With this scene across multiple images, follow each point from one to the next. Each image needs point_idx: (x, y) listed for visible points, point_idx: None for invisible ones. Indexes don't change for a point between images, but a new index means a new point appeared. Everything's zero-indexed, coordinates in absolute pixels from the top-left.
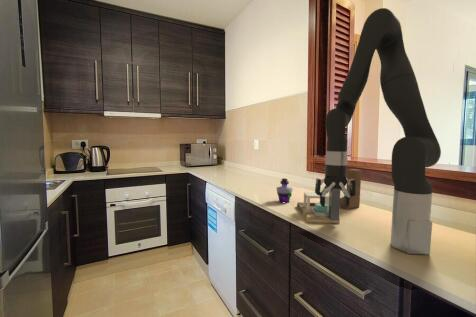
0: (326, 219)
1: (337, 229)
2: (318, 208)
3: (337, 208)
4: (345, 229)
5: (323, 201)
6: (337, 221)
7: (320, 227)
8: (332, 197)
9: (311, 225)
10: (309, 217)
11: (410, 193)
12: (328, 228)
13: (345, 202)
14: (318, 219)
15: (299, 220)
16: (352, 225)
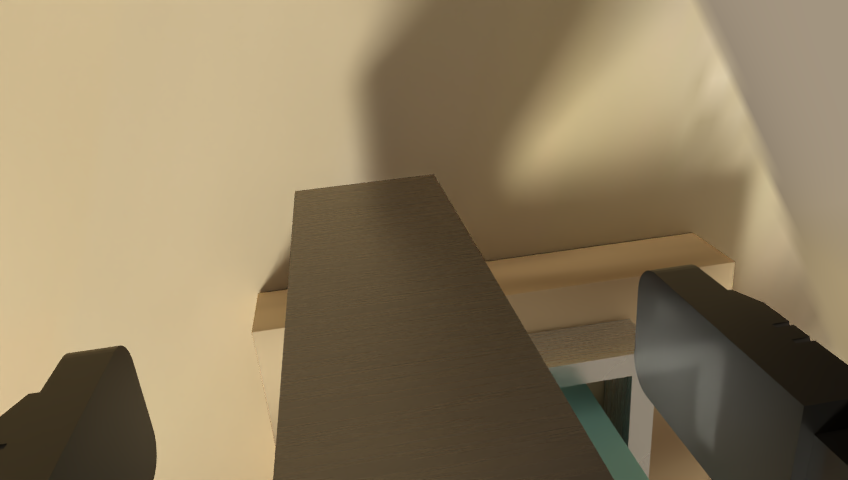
0: None
1: (348, 5)
2: (606, 453)
3: (338, 280)
4: (218, 28)
5: (757, 319)
6: None
7: (585, 52)
8: (558, 438)
9: (686, 116)
10: (717, 263)
11: None
12: (478, 28)
13: (94, 442)
14: (575, 271)
15: (778, 283)
16: (73, 238)
